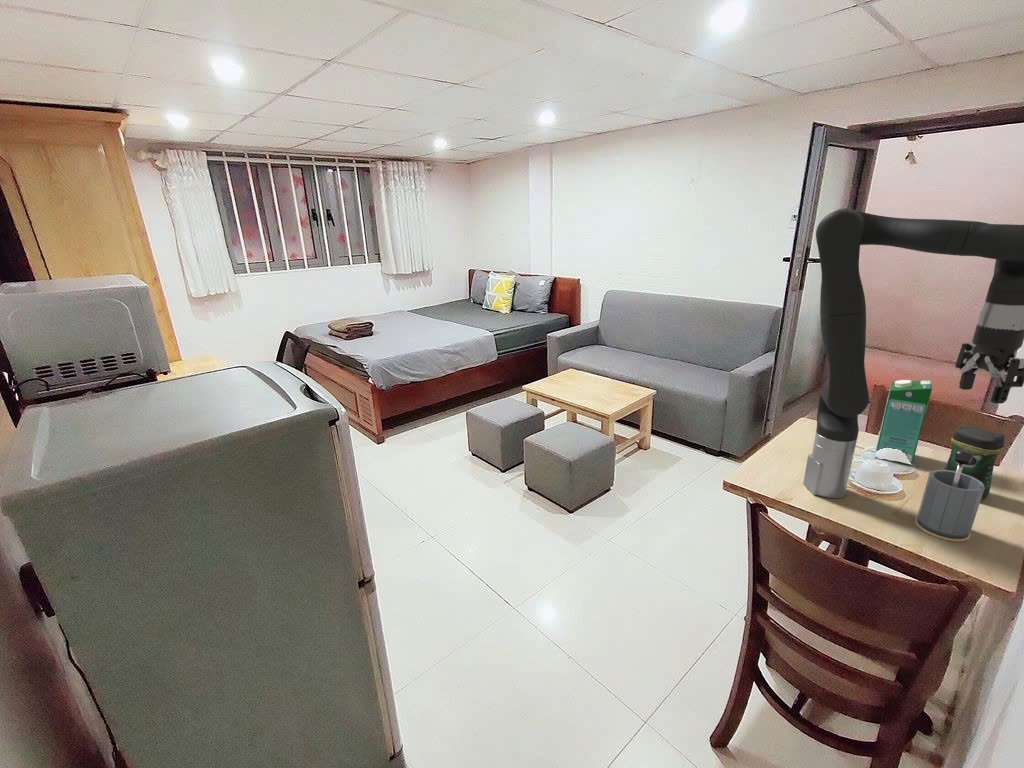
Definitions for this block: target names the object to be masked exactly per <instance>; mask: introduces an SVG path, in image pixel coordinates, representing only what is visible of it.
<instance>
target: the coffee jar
mask: <svg viewBox="0 0 1024 768" xmlns="http://www.w3.org/2000/svg"><path fill="white" fill-rule="evenodd" d="M950 441H951V450H950V454H949V456H948V457H949V458H948V460H947V463H946V464H945V467H944V469H943V470H950V471H955V472H956V470H957V466H958V463H957V462H955V461H954V460H953V458H954V454H955V451H956V449H964V450H968V451H971V452H973V453H974V455H973V458H972V461H971V464H969V465H966V464H964V465H963V469H962V472H961V473H963V474H966V475H969V476H972V477H974V478H976V479H977V480H979V481H980V482H982V483H983V485H984V487H985V489H984V492H983V495H982V498H981V500H983V499H986V498H987V497H988V496H989V495H990V490H991V485H992V478H993V472H994V467H995V463H996V459H997V457H998V455H999V454H1001V452H1003V450H1004V447H1005V434H1002V433H999V432H994V431H990V430H986V429H984V428H980V427H975V426H973V425H969V424H962V425H960V426H959V425H958V427H956V429H955V430H954V433H953V434H952V436H951V439H950Z"/></svg>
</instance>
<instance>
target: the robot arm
mask: <svg viewBox="0 0 1024 768" xmlns="http://www.w3.org/2000/svg"><path fill="white" fill-rule="evenodd" d="M815 240H816V245H817V250H818V256H819V262H820V268H821V270H820V271H821V282H820V295H819V296H820V299H819V300H820V301H819V302H820V304H819V305H820V306H819V307H820V308H819V309H820V310H819V311H820V312H819V315H820V317H819V318H820V330H821V338H822V342H823V347H824V350H825V353H826V354H825V355H826V358H827V362H828V372H829V373H828V379H827V380H825V381H824V383H823V385H822V386H821V390H820V393H819V399H818V400H819V401H818V406H817V411H816V428H815V429H816V430H815V435H814V441H813V447H812V452H811V453H810V454H808V456H807V460H806V466H805V472H804V477H803V482H802V483H803V485H804V486H805V488H806V489H808V491H809V492H810V493H811V494H812V495H813V496H820V497H824V498H827V499H840V498H843V497H845V495H846V494H847V493H846V491H847V488H848V483H849V478H850V474H851V468H852V464H853V460H854V455H855V450H856V445H857V440H858V436H859V430H860V429H859V418H858V417H859V415H861V414H862V413H863V412H864V411H865V410H866V409H867V407H868V405H869V402H870V393H869V388H868V382H867V377H866V376H867V375H866V366H865V358H866V346H867V345H866V342H867V341H866V339H867V337H866V336H867V306H866V305H867V304H866V296H865V292H864V287H863V282H862V278H861V275H860V254H861V253H860V250H861V249H860V248H861V246H868V245H869V246H870V245H871V246H884V247H885V246H887V247H894V248H900V249H905V250H909V251H910V250H911V251H916V252H920V253H921V252H923V253H926V254H927V253H930V254H936V255H937V254H938V255H949V256H959V257H979V258H980V257H981V258H984V259H992V260H995V263H994V269H993V276H992V279H991V281H990V284H989V286H988V290H987V294H986V297H985V300H984V303H983V306H982V307H981V310H980V312H979V316H978V319H977V323H976V325H975V326H976V327H975V330H974V333H973V335H972V336H973V338H972V340H971V341H972V342H969V343H967V342H966V343H962V344H961V348H960V349H959V352H958V356H957V359H956V363H955V364H954V366H955V368H956V369H960V373H961V376H960V380H959V385H958V387H959V389H961V390H962V391H963V390H970V391H971V390H972V389H973V386H974V383H975V379H976V376H977V372H979V370H984V371H986V372H989V374H990V376H991V377H992V378H993V379H994V382H995V384H996V385H995V386H994V388H993V391H992V394H991V398H990V402H991V403H992V404H1004V403H1006V401H1007V400H1008V397H1009V393H1010V391H1011V388H1022V387H1023V386H1024V358H1020V357H1019V358H1018V357H1016V355H1015V352H1016V351H1017V350H1018V349H1020V348H1021V347H1022V346H1023V343H1024V224H1005V223H1003V224H1001V223H1000V224H999V223H989V222H988V223H987V222H983V221H975V220H959V219H958V220H957V219H940V218H939V219H936V218H933V219H932V218H931V219H930V218H907V217H906V218H905V217H904V218H903V217H892V216H884V215H878V214H877V215H876V214H872V213H868V212H863V211H858V210H856V209H853V208H840V209H837V210H834V211H832V212H830V213H829V214H827V215H825V216H824V217H823V218H821V220H820V222H819V223H818V225H817V227H816V231H815ZM964 361H965V362H964ZM1003 370H1004V371H1003ZM1015 377H1016V379H1015ZM1003 378H1004V380H1003Z"/></svg>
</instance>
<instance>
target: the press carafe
mask: <svg viewBox="0 0 1024 768" xmlns="http://www.w3.org/2000/svg"><path fill="white" fill-rule="evenodd" d="M955 473H956V472H955V471H950V470H944V469H934V470H932V471H929V473H928V476H927V481H926V484H925V487H924V491H923V495H922V499H921V501H920V505H919V509H918V513H917V516H916V517H915V518H914V524H915V526H916V527H917V528H918V529H919V530H920V531H922V532H923V533H926V534H927V535H929V536H931V537H933V538H936V539H939V540H943V541H946V542H952V543H953V542H954V543H964V542H967V541H969V540H970V538H971V531H972V528H973V526H974V522H975V519H976V515H977V514H978V510H979V507H980V504H981V501H982V499H981V498H982V495H983V492H984V489H985V487H984V485H983V483H982V482H980V481H979V480H977V479H976V478H974V477H972V476H969V475H966V474H963V473H961V475H960V478H959V482H958V485H957V487H952V483H953V480H954V476H955Z"/></svg>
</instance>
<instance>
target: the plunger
mask: <svg viewBox="0 0 1024 768" xmlns="http://www.w3.org/2000/svg"><path fill="white" fill-rule="evenodd" d="M973 455H974V453H973V452H971V451H968V450H964V449H956V451H955V454H954V458H953V460H954V461H955V462H957V463H958V466H957V470H956V473H955V476H954V480H953V483H952V487H957V485H958V482H959V478H960V475H961V472H962V469H963V465H964V464H966V465H969V464H971V461H972V458H973Z"/></svg>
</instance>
